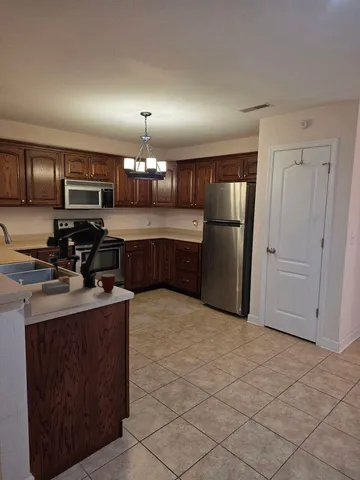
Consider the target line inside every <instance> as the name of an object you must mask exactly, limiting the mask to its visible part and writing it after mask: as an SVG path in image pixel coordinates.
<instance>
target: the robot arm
mask: <svg viewBox="0 0 360 480" xmlns="http://www.w3.org/2000/svg"><path fill="white" fill-rule="evenodd" d="M86 230H90V231H91V232H93V233H94V241H93V242H92V245H91V246H92V247H91V249H90V251H89V253H88V256H87V258H86V260H84V261H83V262H81V265H80V267H79V272H80V274H81V276H82V278H83V280H82V287H84V288H85V289H91V288H97V285H96V275H97V272H96V271H95V269H94V268H95V267H94V264H95V263H94V262H95V259H96V257H97V255H98V252H99V249H100V248H101V245H102V243H103V242H104V241H105V239H106V238H107V236H108V235H109V230H108V228H107V227H105V226H101V225H99V224H97V223H95V222H93V221H88V222H86V223H83V224H82V223H81V224H78V225H74V226H72V227H63V228H59V229H57V233H56V234H55V236H51V235H50V236H48V237H47V240H46V246H47V247H48V248H56V249H57V248H58V250H53V251H52V255H53V256H49V257H48V258H47V262H48V263H49V264H51V265H52V266H53V268H54V270H55V272H56V274H58V273H59V267H58V266H59V265H58V262H60V261H69V260H70V272H73V270H74V267H75V265H76V264H77V262H79V261H81V257H80V255H77V254H73V255H72V254H71V255H70V251H71V250H70V247H69V245H70V243H69V242H72V241H73V239H72V238H71V237H70V236H72V235H73V234H75V233H78V232H82V231H83V232H84V231H86Z"/></svg>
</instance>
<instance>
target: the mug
mask: <svg viewBox="0 0 360 480" xmlns="http://www.w3.org/2000/svg"><path fill="white" fill-rule="evenodd" d="M100 282H101V285H100V284H99V283H100ZM115 283H116V274H114V273H104V274H103V273H102V274H101V276H100V278H99V279H98V280H97V282H96V286H97V287H98V288H102V290H103V291H104V293H111V292H113V290H114V287H115Z"/></svg>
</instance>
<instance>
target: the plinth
mask: <svg viewBox="0 0 360 480" xmlns="http://www.w3.org/2000/svg"><path fill="white" fill-rule="evenodd" d="M70 286H71V284H70V285H68V284H66V283H64V282H62V281H61V282H59V281H55V282H47V283H41V291H43V292H44V293H46V294H47V295H54V294H61V293H67V292H70V290H71V289H70Z"/></svg>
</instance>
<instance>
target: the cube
mask: <svg viewBox="0 0 360 480" xmlns="http://www.w3.org/2000/svg"><path fill="white" fill-rule="evenodd" d="M70 279H71V278H70V277H69V276H67V275H64V276H58V282H61V281H62V282H64V283H66V284H68V285H70V286H71V283H70Z"/></svg>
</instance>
